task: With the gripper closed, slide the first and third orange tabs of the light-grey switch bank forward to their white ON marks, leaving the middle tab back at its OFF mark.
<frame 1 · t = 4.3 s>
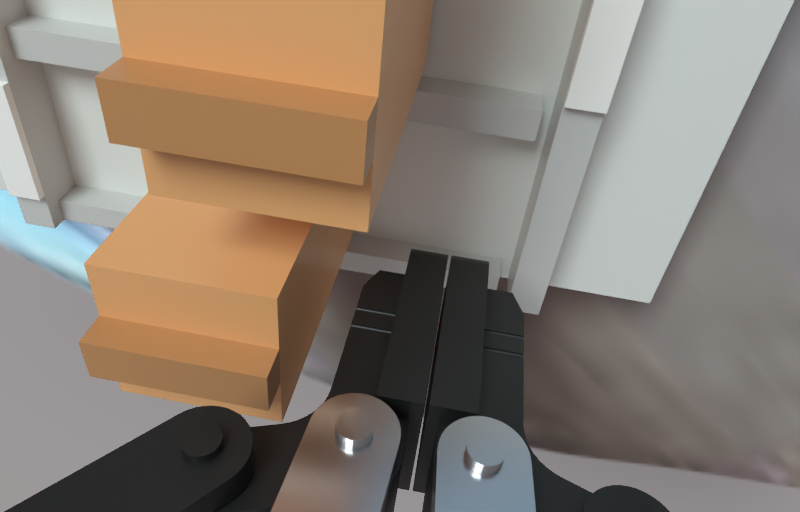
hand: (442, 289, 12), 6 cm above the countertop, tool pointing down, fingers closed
tab b: (312, 33, 9), point 6 cm above the countertop, slide at 0.0 cm
tab c: (248, 250, 12), point 6 cm above the countertop, slide at 1.3 cm, touching gripper
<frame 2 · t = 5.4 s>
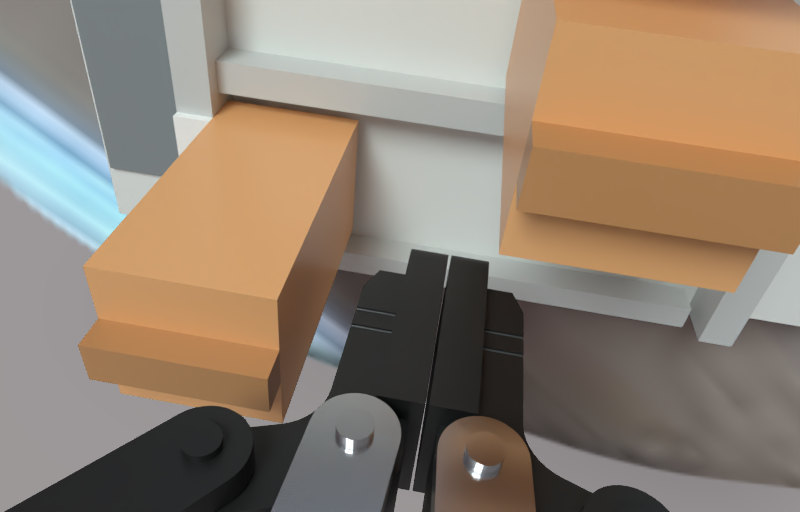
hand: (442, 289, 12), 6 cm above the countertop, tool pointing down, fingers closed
tab b: (624, 79, 9), point 6 cm above the countertop, slide at 0.0 cm
tab c: (247, 251, 12), point 6 cm above the countertop, slide at 6.0 cm, touching gripper, switch bank
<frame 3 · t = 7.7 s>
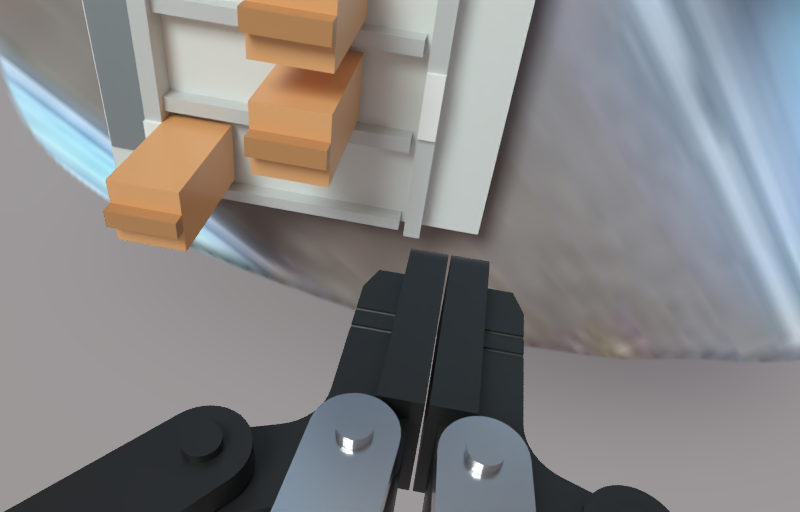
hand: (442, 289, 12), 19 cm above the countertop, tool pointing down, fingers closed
switch bank: (307, 55, 29), on the countertop
tab b: (308, 113, 25), point 6 cm above the countertop, slide at 0.0 cm
tab c: (174, 182, 28), point 6 cm above the countertop, slide at 6.0 cm, touching switch bank
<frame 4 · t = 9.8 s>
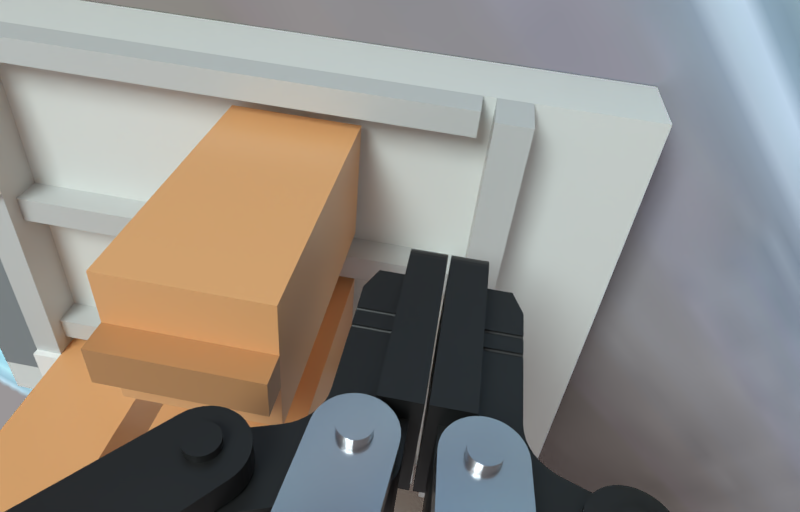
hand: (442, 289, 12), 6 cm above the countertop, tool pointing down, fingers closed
tab a: (249, 256, 12), point 6 cm above the countertop, slide at 0.1 cm, touching gripper
switch bank: (275, 250, 20), on the countertop
tab b: (262, 398, 15), point 6 cm above the countertop, slide at 0.0 cm
tab c: (74, 456, 18), point 6 cm above the countertop, slide at 6.0 cm, touching switch bank
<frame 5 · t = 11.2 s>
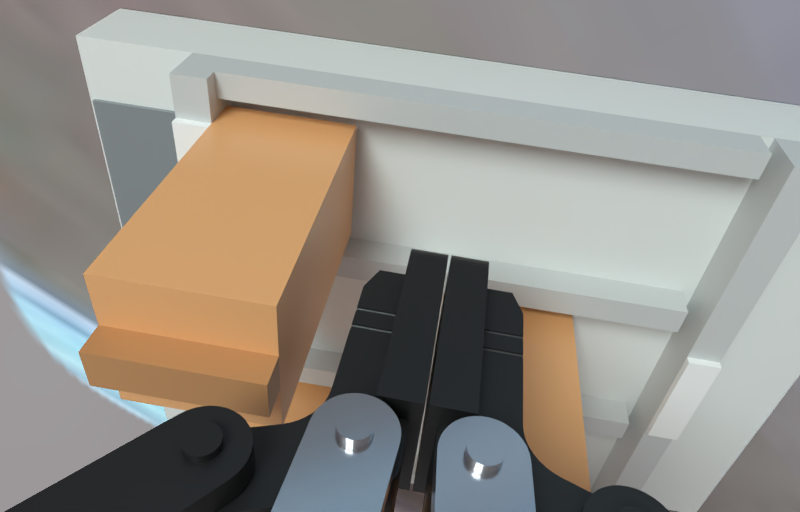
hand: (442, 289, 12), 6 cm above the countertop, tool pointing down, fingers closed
tab a: (246, 256, 12), point 6 cm above the countertop, slide at 6.0 cm, touching gripper, switch bank
switch bank: (457, 281, 19), on the countertop
tab b: (502, 443, 15), point 6 cm above the countertop, slide at 0.0 cm
tab c: (266, 497, 18), point 6 cm above the countertop, slide at 6.0 cm, touching switch bank
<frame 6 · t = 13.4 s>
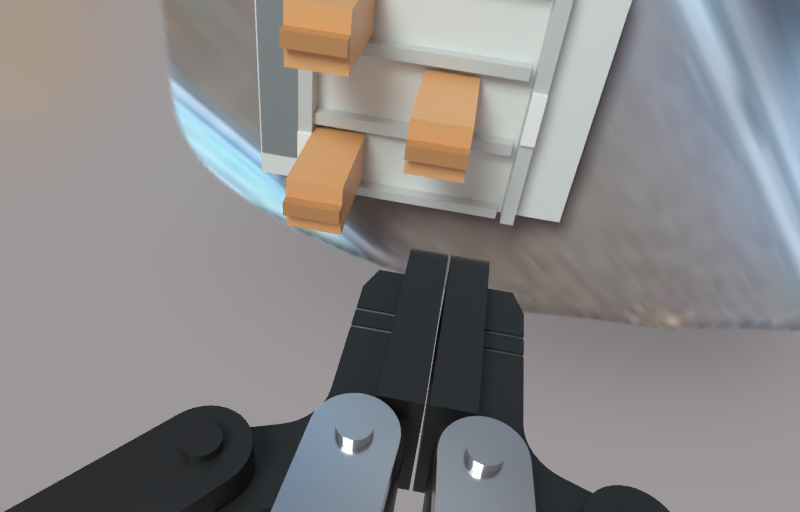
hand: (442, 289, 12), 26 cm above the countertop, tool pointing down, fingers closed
tab a: (331, 19, 29), point 6 cm above the countertop, slide at 6.0 cm, touching switch bank
switch bank: (426, 78, 36), on the countertop
tab b: (442, 126, 32), point 6 cm above the countertop, slide at 0.0 cm
tab c: (326, 180, 35), point 6 cm above the countertop, slide at 6.0 cm, touching switch bank
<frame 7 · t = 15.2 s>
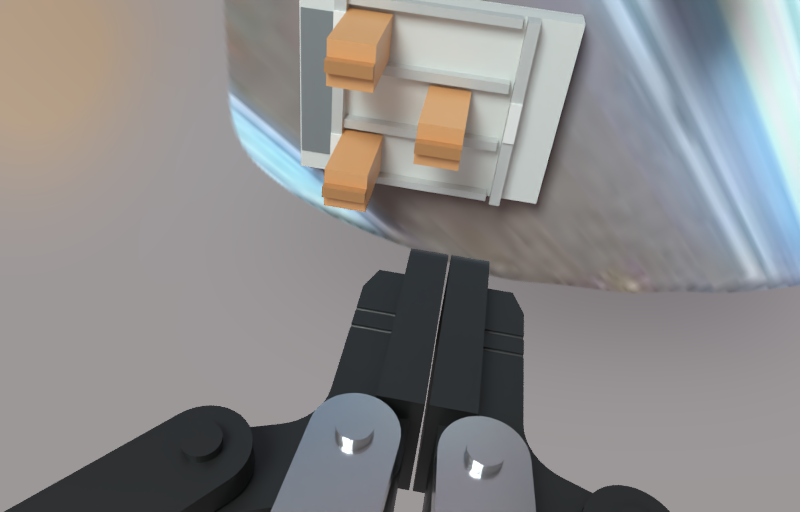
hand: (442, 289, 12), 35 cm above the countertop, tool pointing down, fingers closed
tab a: (359, 50, 40), point 6 cm above the countertop, slide at 6.0 cm, touching switch bank
switch bank: (430, 91, 47), on the countertop
tab b: (442, 128, 42), point 6 cm above the countertop, slide at 0.0 cm
tab c: (353, 171, 45), point 6 cm above the countertop, slide at 6.0 cm, touching switch bank
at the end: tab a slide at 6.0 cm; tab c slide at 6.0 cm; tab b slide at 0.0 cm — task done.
